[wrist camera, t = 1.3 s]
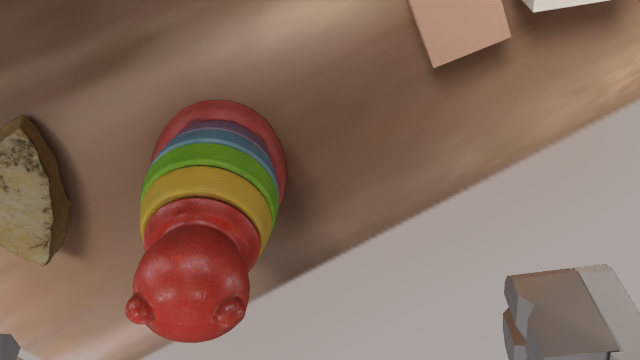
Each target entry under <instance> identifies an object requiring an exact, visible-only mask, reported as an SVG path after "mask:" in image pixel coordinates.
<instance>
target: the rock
mask: <svg viewBox="0 0 640 360" xmlns="http://www.w3.org/2000/svg"><path fill="white" fill-rule="evenodd" d="M70 207H71V205H70V201H69V200H68V199H67V197H66V194H65V191H64V187H63V184H62V182H61V180H60V176H59V173H58V162H57V159H56V157H55V156H54V154H53V152H52V151H51V149H50V148H49V147H48V146H47V145H46V143H45V141H44V139H43V138H42V136H41V134H40V132H39V130H38V129H37V127H36V126H35V125H33V123H32V122H31V121H30V120H29V119H28V118H27V116H26V115H22V116H20V117H18V118H16V119H15V120H14V121H12V122H10V123H8V124H7V125H6V126H5V127H3V128H2V129H1V130H0V246H2V247H3V248H5V249H6V250H8V251H10V252H12V253H14V254H16V255H18V256H20V257H22V258H24V259H27V260H30V261H33V262H36V263H38V264H40V265H42V266H45V265H47V264H48V263H49V262H50V260H51V259H52V257H53V255H54V254H55V253H56V252H57V251H58V250H59V248H60V247H61V246H62V244H63V242H64V240H65V237H66V233H67V224H68V217H69V211H70Z"/></svg>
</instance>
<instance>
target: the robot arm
mask: <svg viewBox="0 0 640 360" xmlns="http://www.w3.org/2000/svg"><path fill="white" fill-rule="evenodd" d="M504 294H505V297H506V300H507V303H508V305H509V308H508V309H507V310H506V311H505V312H504V313H503V332H504V340H505V346H506V350H507V354H508V358H509V360H640V312H639V311H638V309H637V308H636V306H635V304H634V303H633V301H632V300H631V298H630V296H629V295H628V293H627V291H626V290H625V289H624V287H623V285H622V283H621V282H620V281H619V279H618V277H617V276H616V274H615V272H614V271H613V269H612V268H611V267H609V266H608V265H607V264H602V265H594V266H586V267H577V268H572V269H560V270H553V271H544V272H536V273H528V274H520V275H512V276H507V278H506V281H505V290H504ZM19 351H20V346H19V345H18V343H17V342H16V340H15V339H14V338H13V336H12V335H11V334H0V360H23V359H21V358H19V357H18V354H19Z"/></svg>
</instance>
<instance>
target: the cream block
mask: <svg viewBox="0 0 640 360" xmlns="http://www.w3.org/2000/svg"><path fill="white" fill-rule="evenodd" d="M522 1H523V2H524V3H525V4H526V5H527V6H528V7H529V8H530V9H531V11H532V12H540V11H546V10H552V9H559V8H565V7H571V6H577V5H584V4H590V3H596V2H603V1H609V0H522Z"/></svg>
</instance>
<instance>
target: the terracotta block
mask: <svg viewBox="0 0 640 360" xmlns="http://www.w3.org/2000/svg"><path fill="white" fill-rule="evenodd" d="M407 1H408V3H409V6H410V9H411V12H412V14H413V17H414V20H415V23H416V25H417V28H418V31H419V34H420V37H421V39H422V42H423V44H424V46H425V49H426V51H427V53H428V56H429V58H430V60H431V63H432V65H433V68H436V67H438V66H441V65H443V64H446V63H448V62H451V61H453V60H456V59H458V58H461V57H463V56H466V55H468V54H471V53H473V52H475V51H478V50H480V49H483V48H485V47H488V46H490V45H493V44H495V43H498V42H500V41H503V40H505V39H508V38H510V37H511V34H510V31H509V27H508V23H507V19H506V16H505V12H504V8H503V4H502V1H501V0H407Z"/></svg>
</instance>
